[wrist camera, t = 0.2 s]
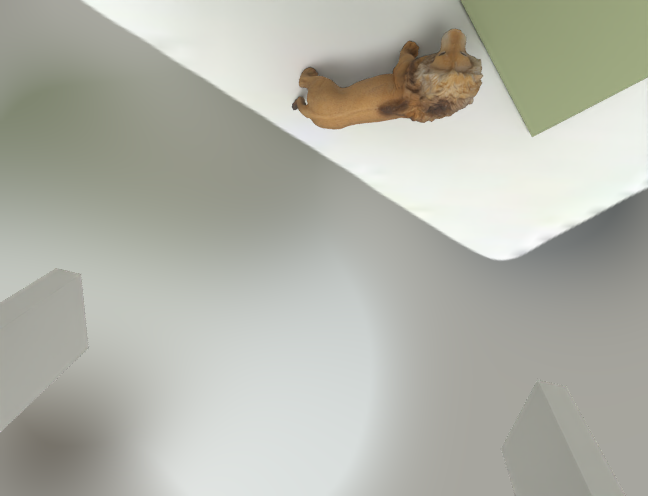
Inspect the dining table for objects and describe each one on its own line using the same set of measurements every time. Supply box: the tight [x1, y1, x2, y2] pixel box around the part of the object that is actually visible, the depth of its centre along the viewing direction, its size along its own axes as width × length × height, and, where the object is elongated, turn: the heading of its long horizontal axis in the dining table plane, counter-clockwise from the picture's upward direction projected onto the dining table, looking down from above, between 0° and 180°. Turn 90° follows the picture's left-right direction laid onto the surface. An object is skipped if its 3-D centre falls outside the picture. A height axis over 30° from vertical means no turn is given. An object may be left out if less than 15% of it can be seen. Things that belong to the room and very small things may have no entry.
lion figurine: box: [292, 29, 483, 129], centre depth 29 cm, size 15×5×9 cm, turn 114°
